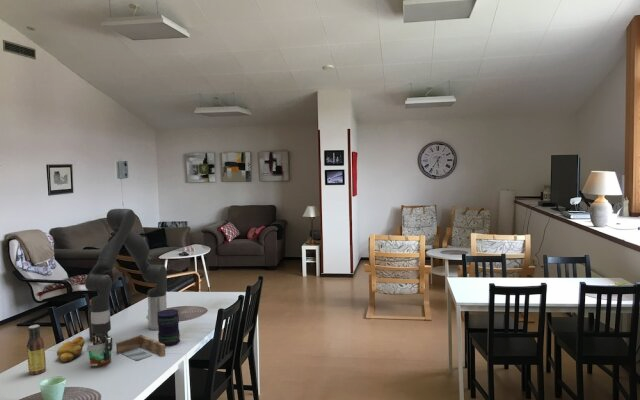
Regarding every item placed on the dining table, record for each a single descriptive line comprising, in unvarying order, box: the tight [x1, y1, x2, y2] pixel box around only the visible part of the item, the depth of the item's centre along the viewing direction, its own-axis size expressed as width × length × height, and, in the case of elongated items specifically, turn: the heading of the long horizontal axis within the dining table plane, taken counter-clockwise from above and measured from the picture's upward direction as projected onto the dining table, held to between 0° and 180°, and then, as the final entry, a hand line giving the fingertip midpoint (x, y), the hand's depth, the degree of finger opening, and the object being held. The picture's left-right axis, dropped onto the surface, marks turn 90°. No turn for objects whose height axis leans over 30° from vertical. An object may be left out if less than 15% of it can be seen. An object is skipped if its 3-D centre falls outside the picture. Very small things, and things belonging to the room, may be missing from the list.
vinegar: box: [87, 299, 93, 343], centre depth 231 cm, size 7×7×20 cm
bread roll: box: [56, 336, 85, 363], centre depth 210 cm, size 13×10×8 cm
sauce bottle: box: [26, 324, 47, 376], centre depth 194 cm, size 7×6×20 cm
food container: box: [86, 335, 114, 368], centre depth 202 cm, size 12×6×10 cm, turn 164°
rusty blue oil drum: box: [157, 308, 181, 348], centre depth 225 cm, size 10×10×15 cm
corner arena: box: [115, 334, 166, 362], centre depth 211 cm, size 20×12×5 cm, turn 51°
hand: (103, 358), depth 203 cm, fingers closed on food container, 6 cm apart
